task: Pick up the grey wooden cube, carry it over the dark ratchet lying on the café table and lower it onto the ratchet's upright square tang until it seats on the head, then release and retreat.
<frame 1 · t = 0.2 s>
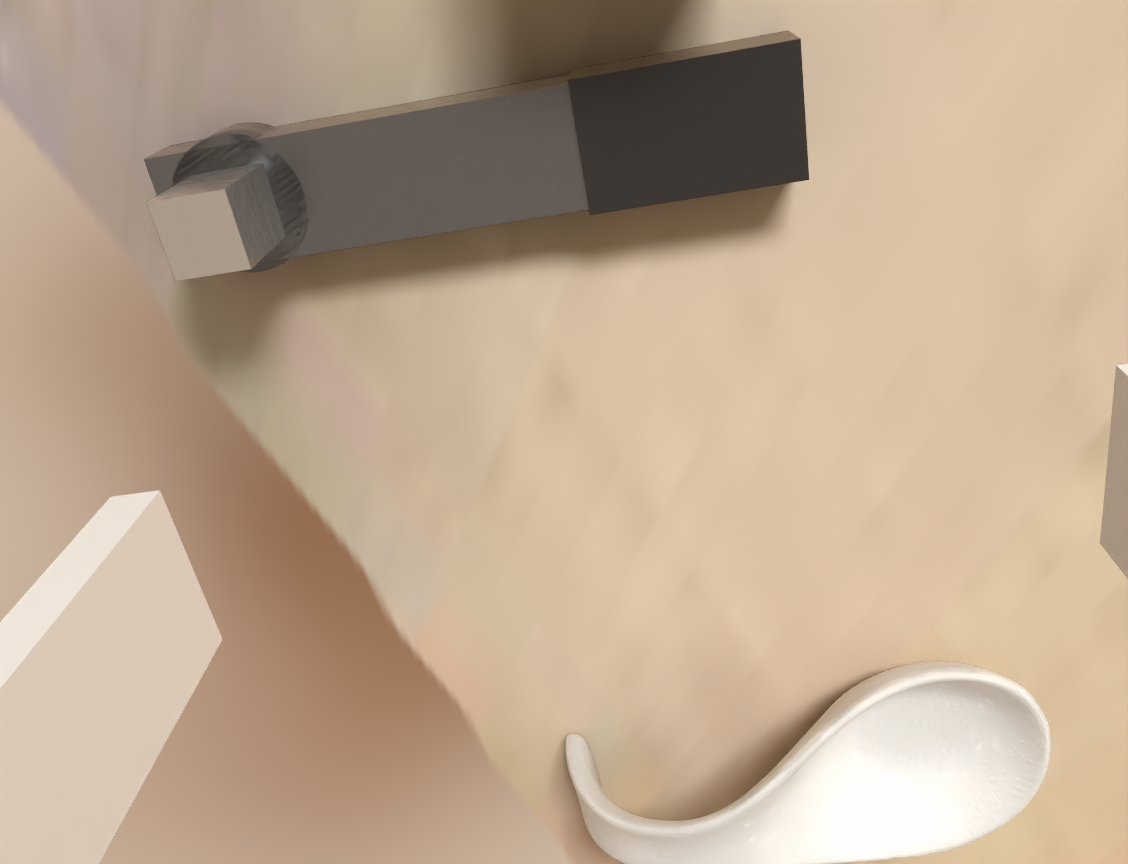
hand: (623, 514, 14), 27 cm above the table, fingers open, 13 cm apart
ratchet: (480, 152, 38), on the table
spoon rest: (792, 728, 52), on the table
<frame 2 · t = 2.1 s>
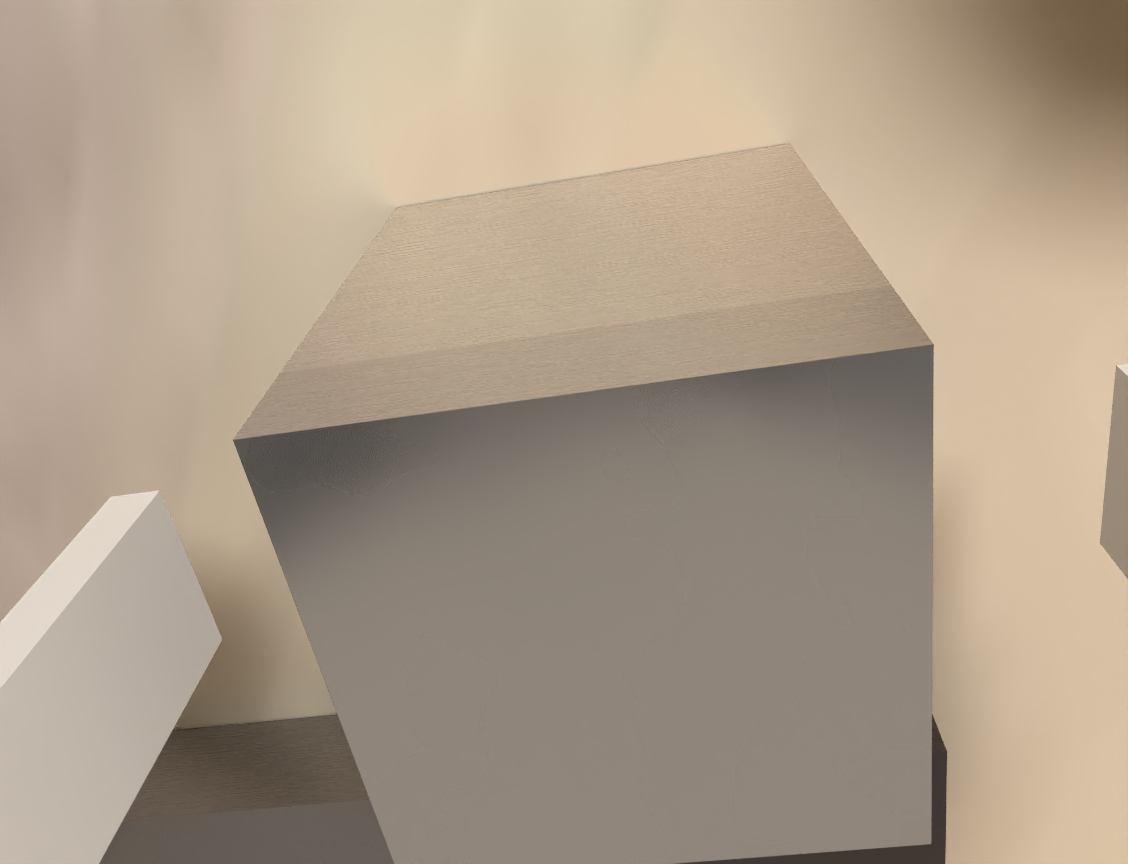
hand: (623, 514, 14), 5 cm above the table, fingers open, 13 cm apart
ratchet: (384, 782, 23), on the table
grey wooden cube: (617, 356, 17), on the table
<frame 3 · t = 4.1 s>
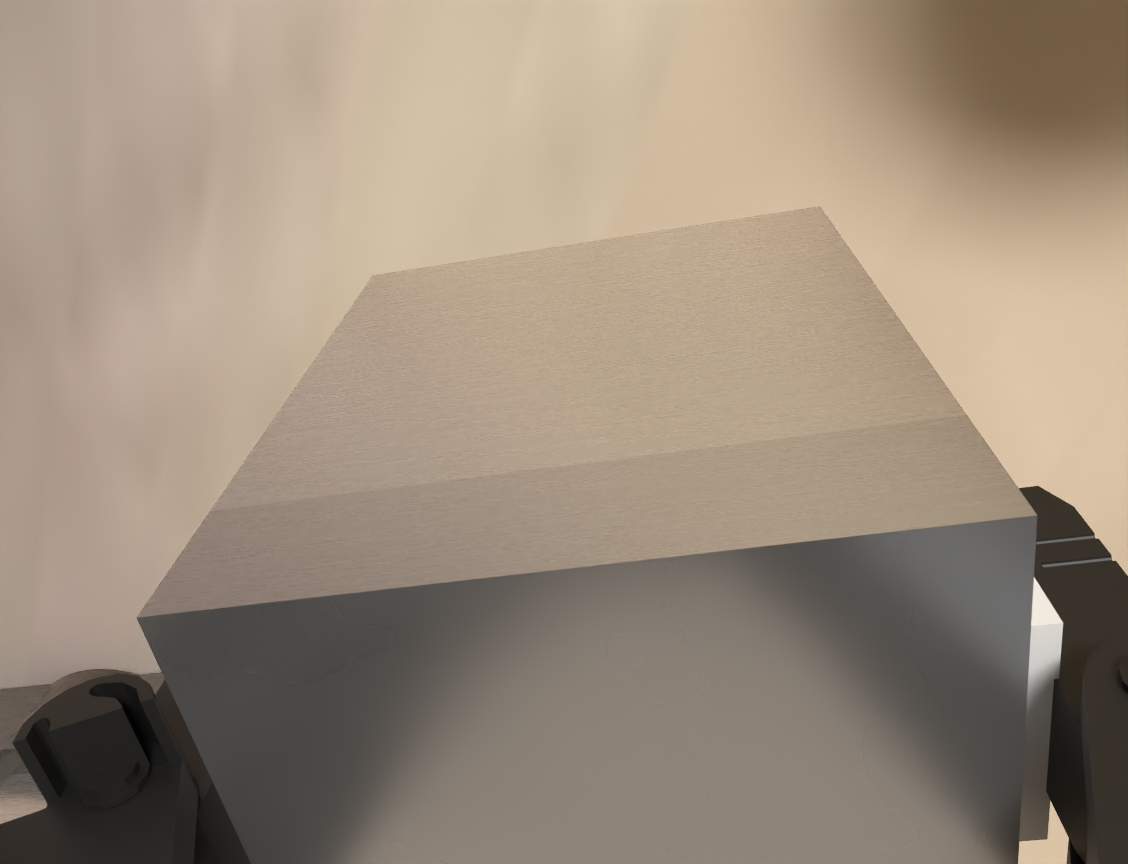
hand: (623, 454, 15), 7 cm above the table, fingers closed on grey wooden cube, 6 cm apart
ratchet: (428, 712, 27), on the table
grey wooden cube: (622, 439, 16), point 7 cm above the table, touching gripper
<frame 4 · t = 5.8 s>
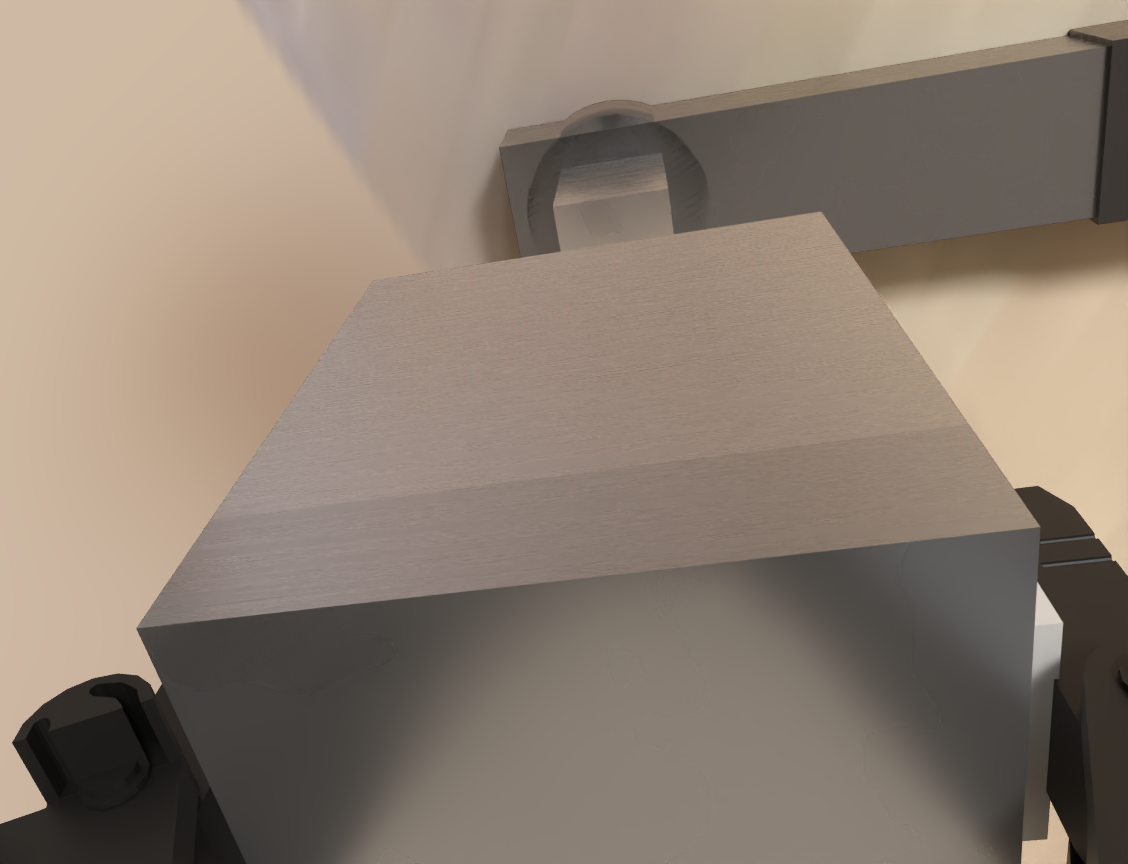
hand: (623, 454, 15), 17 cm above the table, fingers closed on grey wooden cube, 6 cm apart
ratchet: (921, 140, 29), on the table
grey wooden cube: (623, 444, 15), point 16 cm above the table, touching gripper
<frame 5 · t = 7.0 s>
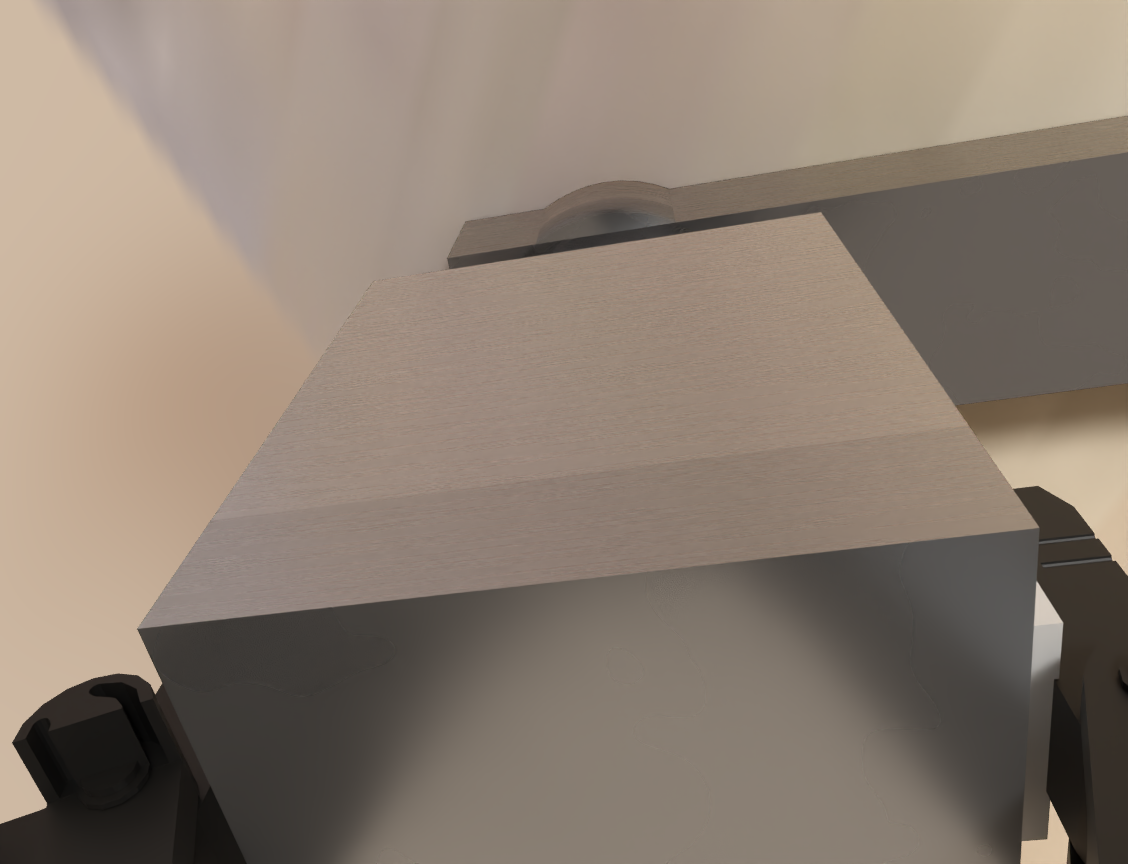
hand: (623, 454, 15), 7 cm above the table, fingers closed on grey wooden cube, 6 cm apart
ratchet: (1055, 237, 20), on the table
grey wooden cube: (623, 444, 15), point 7 cm above the table, touching gripper
when the fingers open (4 cm above the table, at t = 7.9 s): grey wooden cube stays where it is, resting on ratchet.
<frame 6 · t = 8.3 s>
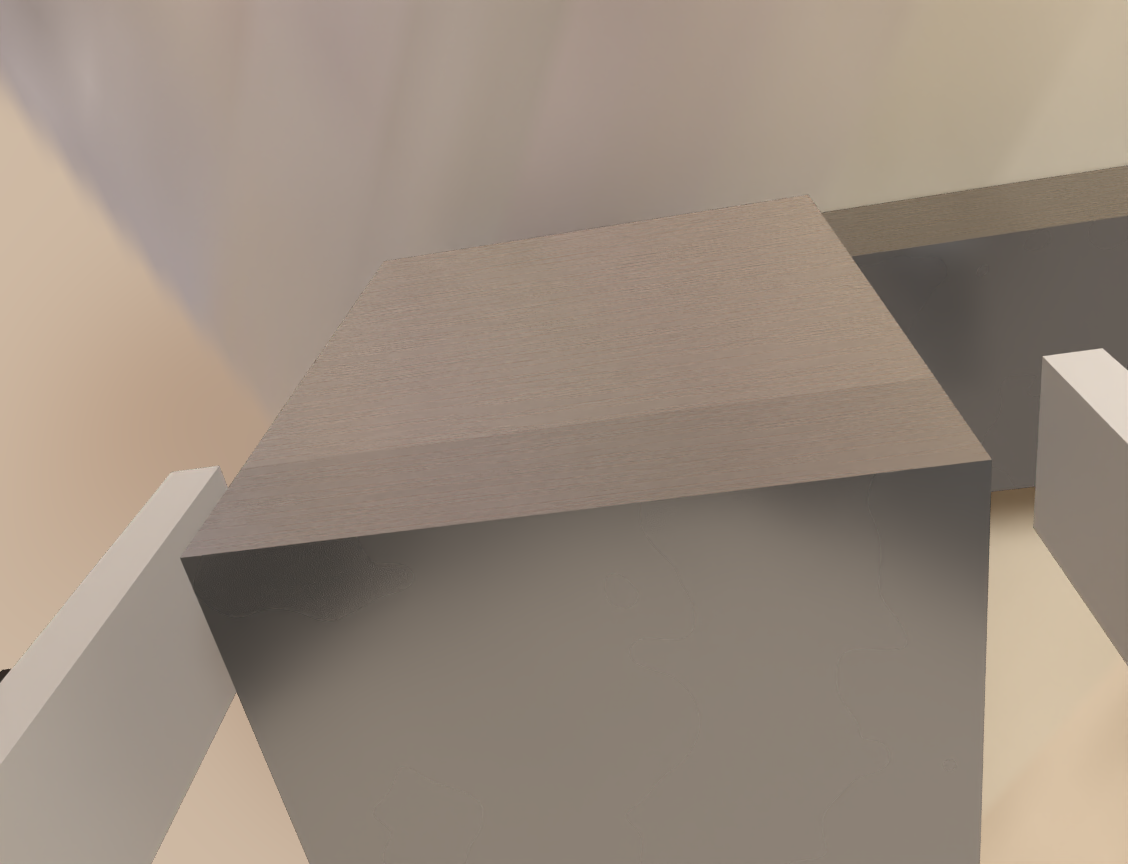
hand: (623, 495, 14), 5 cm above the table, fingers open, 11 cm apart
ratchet: (1123, 290, 17), on the table
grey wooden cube: (621, 418, 16), point 2 cm above the table, touching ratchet
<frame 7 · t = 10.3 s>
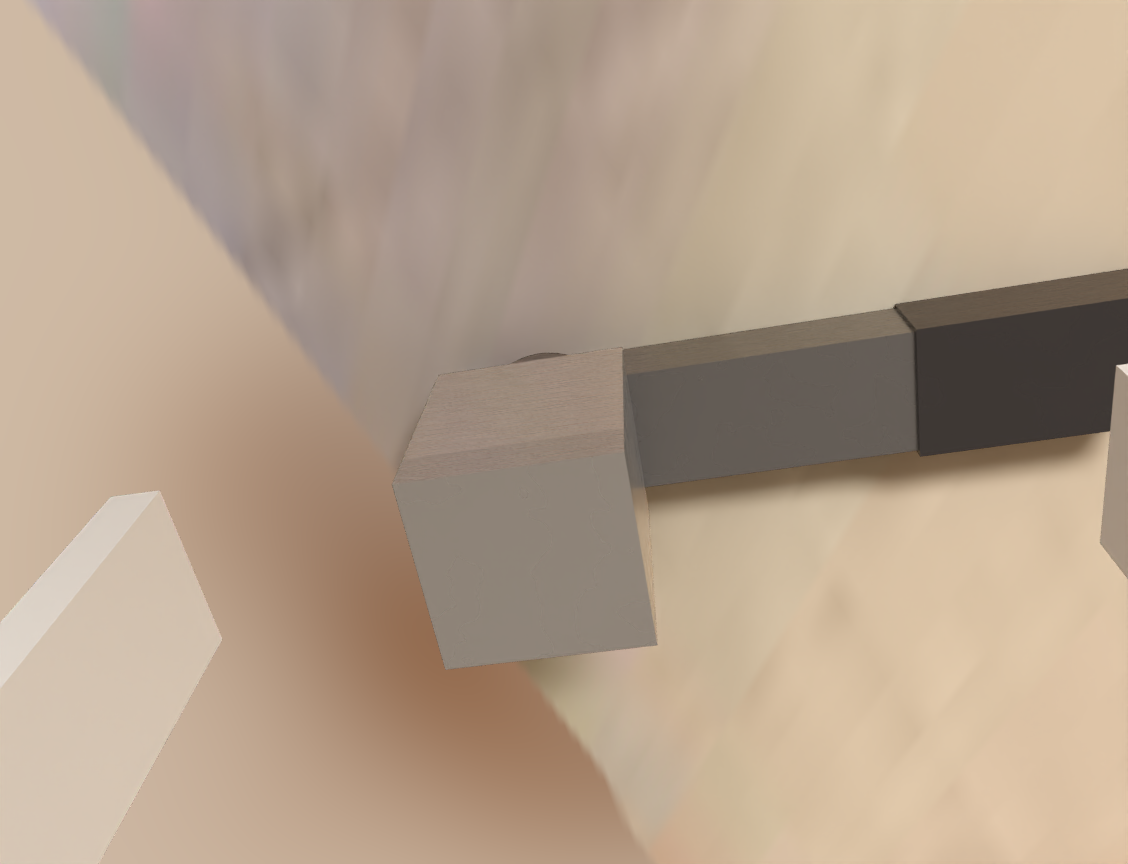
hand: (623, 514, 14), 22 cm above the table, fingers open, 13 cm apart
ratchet: (788, 381, 36), on the table
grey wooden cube: (546, 444, 35), point 2 cm above the table, touching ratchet
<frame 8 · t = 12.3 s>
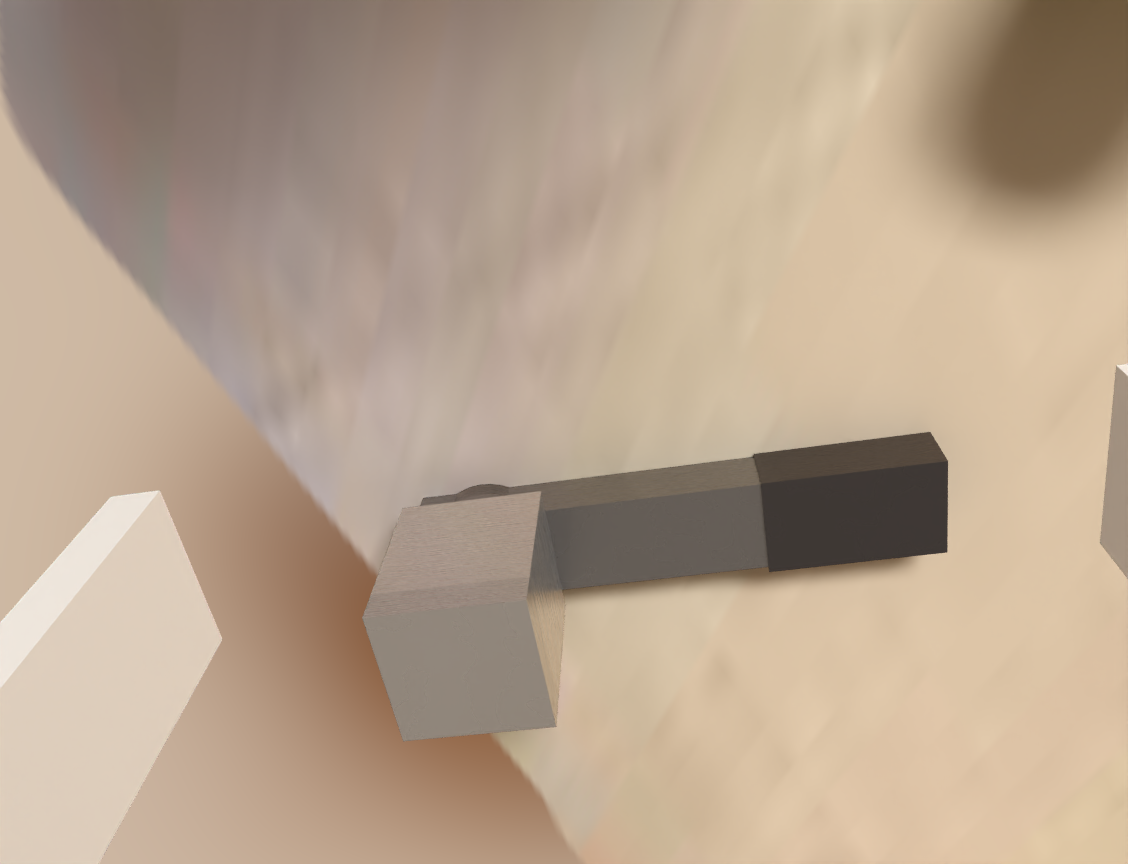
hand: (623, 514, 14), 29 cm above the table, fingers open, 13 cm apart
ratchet: (674, 507, 47), on the table
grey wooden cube: (485, 558, 46), point 2 cm above the table, touching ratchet
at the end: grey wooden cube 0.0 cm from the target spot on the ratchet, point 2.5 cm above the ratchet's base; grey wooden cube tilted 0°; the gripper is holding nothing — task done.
